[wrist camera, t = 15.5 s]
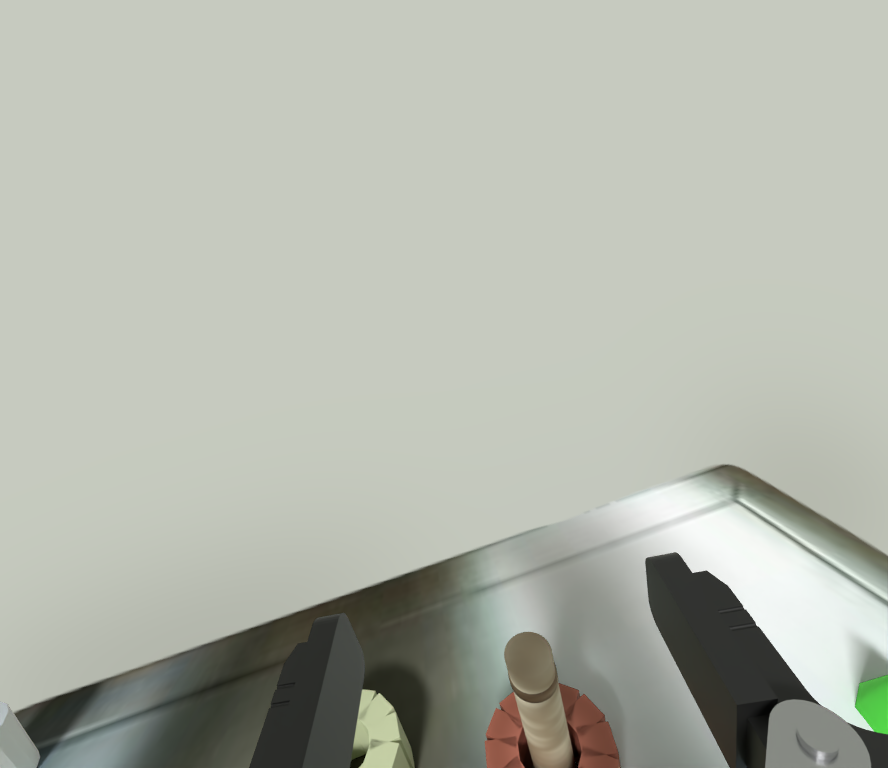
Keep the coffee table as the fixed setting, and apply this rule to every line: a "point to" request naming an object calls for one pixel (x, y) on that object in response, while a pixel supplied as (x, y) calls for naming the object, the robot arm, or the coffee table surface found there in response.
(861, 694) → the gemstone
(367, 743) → the pale green bead
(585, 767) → the red bead
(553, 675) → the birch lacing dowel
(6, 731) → the shot glass
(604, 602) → the coffee table surface
